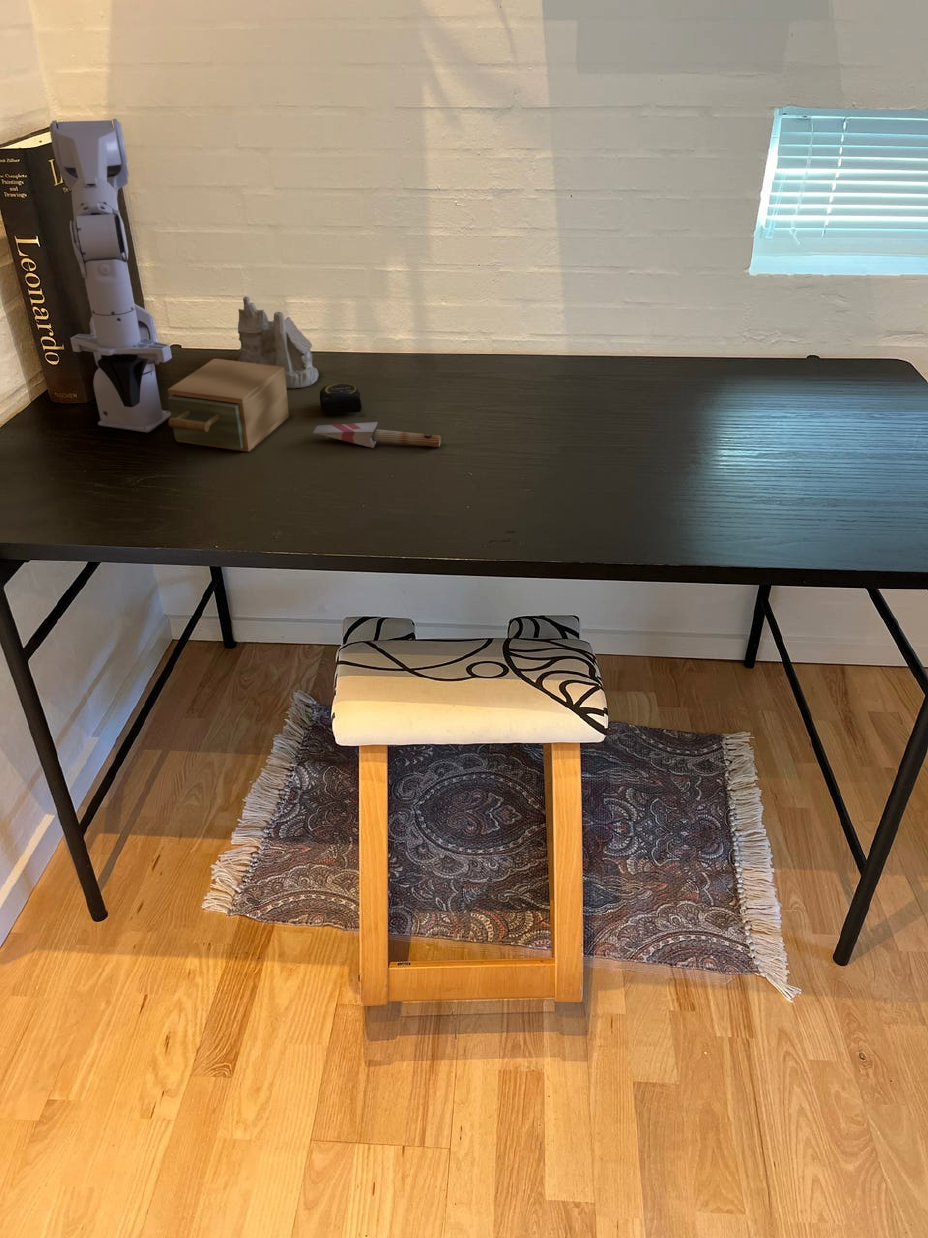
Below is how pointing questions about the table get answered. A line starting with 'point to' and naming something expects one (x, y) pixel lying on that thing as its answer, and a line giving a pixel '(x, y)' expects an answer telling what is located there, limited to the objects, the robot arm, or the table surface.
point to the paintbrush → (374, 435)
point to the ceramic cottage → (275, 345)
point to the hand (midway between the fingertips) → (132, 404)
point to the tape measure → (340, 399)
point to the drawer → (206, 421)
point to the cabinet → (241, 395)
